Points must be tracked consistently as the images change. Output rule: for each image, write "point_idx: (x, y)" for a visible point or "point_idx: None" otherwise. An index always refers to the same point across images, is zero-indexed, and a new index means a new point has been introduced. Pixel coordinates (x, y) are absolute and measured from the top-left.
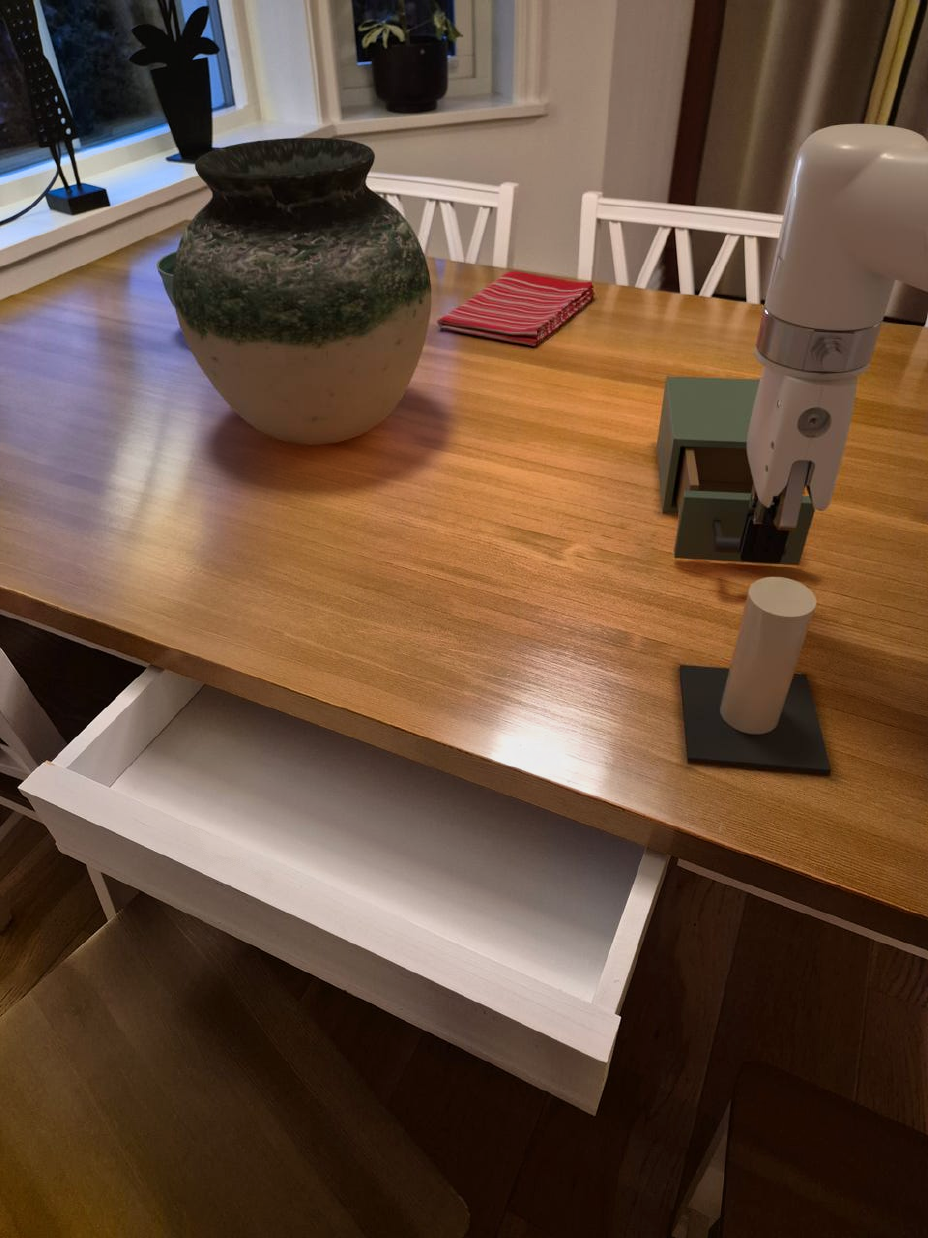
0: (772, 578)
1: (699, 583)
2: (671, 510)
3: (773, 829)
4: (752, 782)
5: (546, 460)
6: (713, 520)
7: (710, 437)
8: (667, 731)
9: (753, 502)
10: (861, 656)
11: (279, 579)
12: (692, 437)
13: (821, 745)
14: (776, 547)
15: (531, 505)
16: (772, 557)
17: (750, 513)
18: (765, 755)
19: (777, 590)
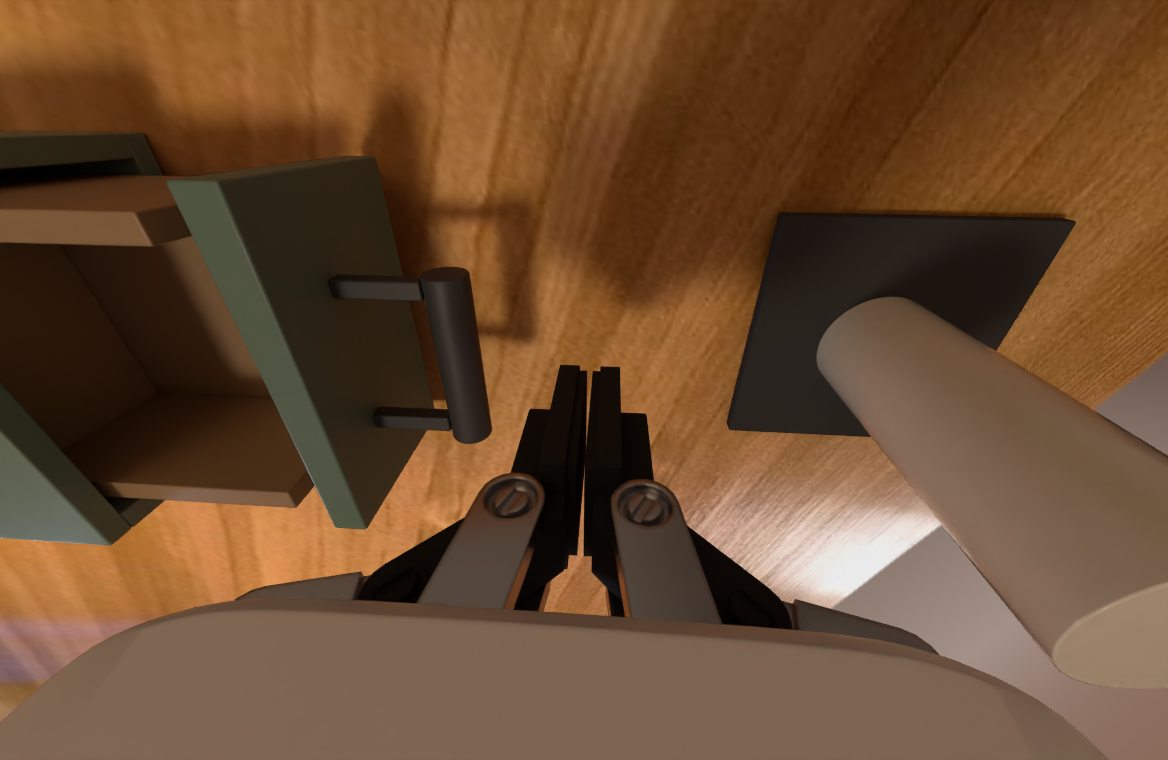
0: (1073, 637)
1: (484, 368)
2: None
3: (1122, 337)
4: (1010, 352)
5: (213, 541)
6: (378, 427)
7: (25, 474)
8: (858, 448)
9: (548, 592)
10: (711, 34)
11: None
12: (67, 512)
13: (1005, 228)
14: (647, 435)
15: (348, 558)
16: (645, 414)
17: (567, 561)
18: (984, 336)
19: (1158, 642)
